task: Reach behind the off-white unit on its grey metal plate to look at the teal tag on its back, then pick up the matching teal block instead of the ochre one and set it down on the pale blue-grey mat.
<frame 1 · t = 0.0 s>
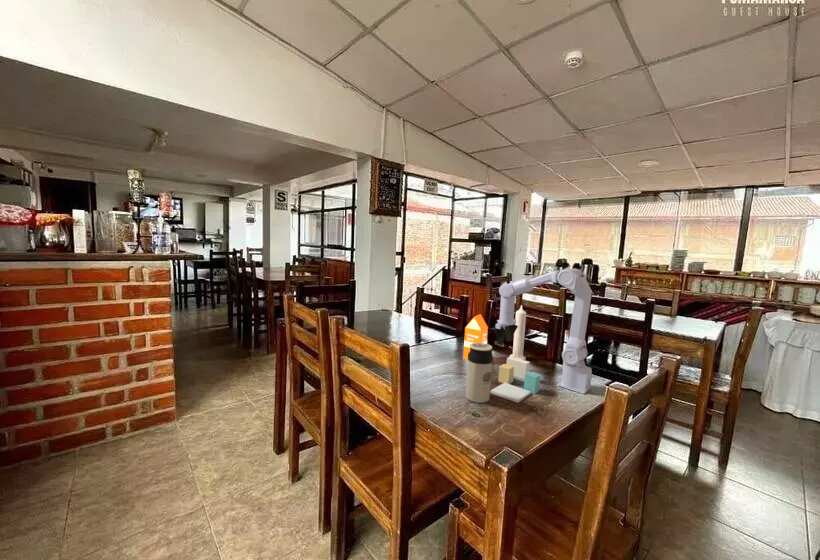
hand: (504, 342, 140), 10 cm above the table, tool pointing down, fingers open, 7 cm apart
ochre block: (505, 381, 124), on the table
unit: (517, 376, 129), on the table
candle: (517, 358, 151), on the table
mat: (510, 393, 114), on the table
teal block: (531, 390, 117), on the table
travel mug: (477, 398, 109), on the table
orange juice: (474, 358, 148), on the table
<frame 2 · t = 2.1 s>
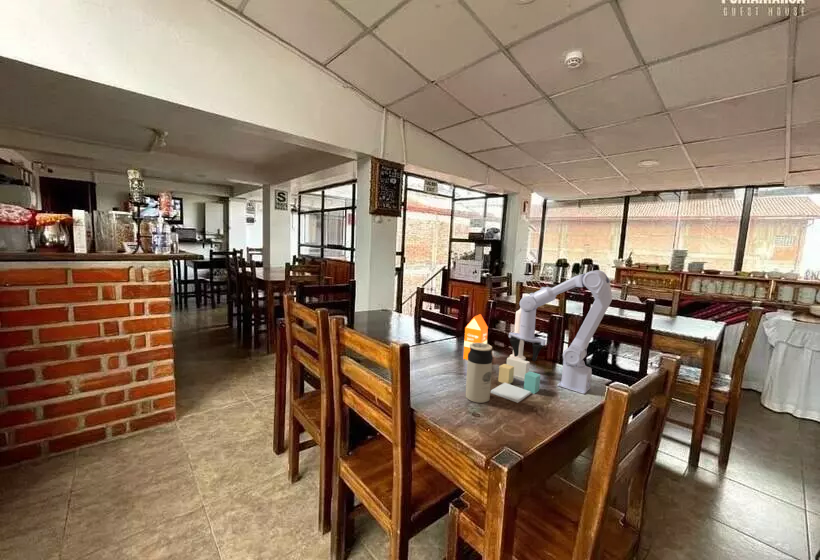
hand: (525, 358, 132), 6 cm above the table, tool pointing down, fingers open, 7 cm apart
nothing on the table moved.
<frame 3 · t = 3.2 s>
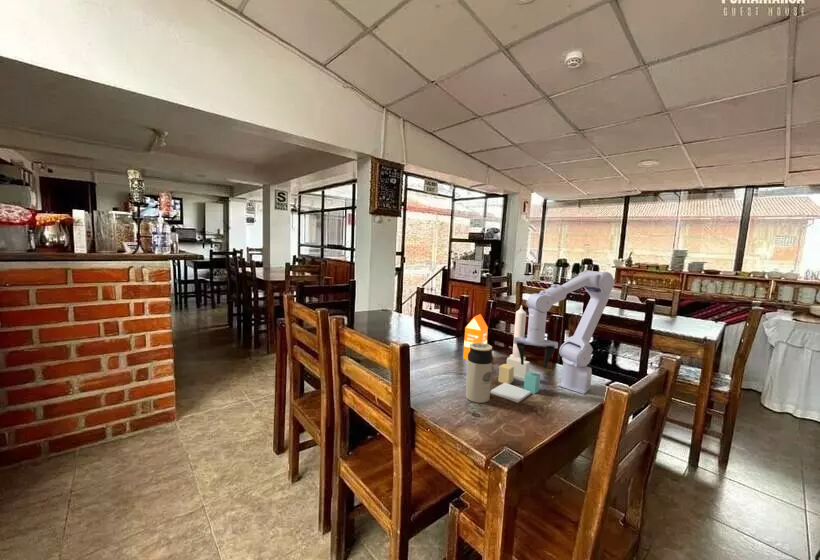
hand: (533, 365, 116), 9 cm above the table, tool pointing down, fingers open, 7 cm apart
nothing on the table moved.
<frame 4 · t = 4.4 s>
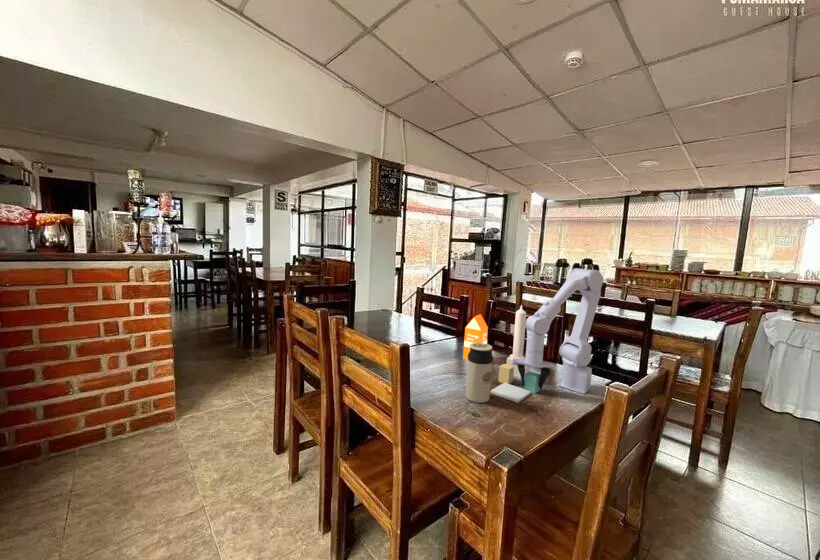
hand: (531, 386, 117), 1 cm above the table, tool pointing down, fingers closed on teal block, 5 cm apart
teal block: (531, 390, 117), on the table, touching gripper
everything else where it was.
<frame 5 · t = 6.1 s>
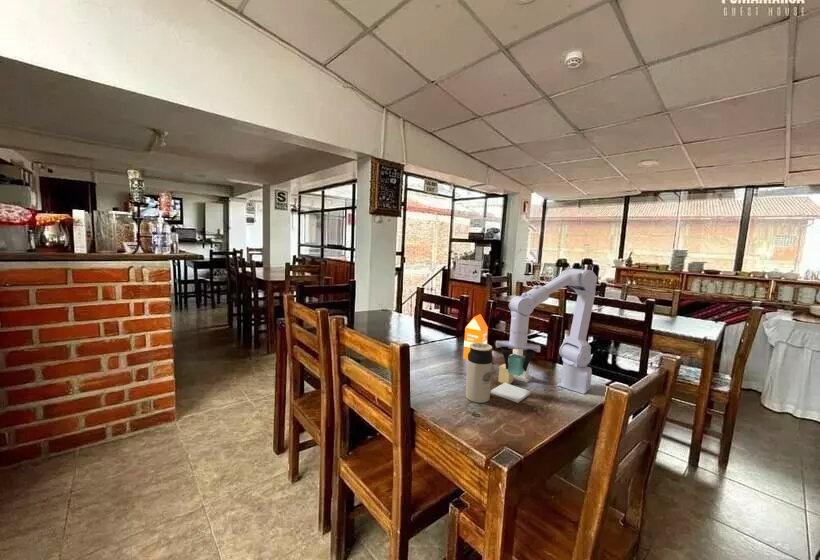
hand: (515, 369, 114), 9 cm above the table, tool pointing down, fingers closed on teal block, 5 cm apart
teal block: (515, 373, 114), point 7 cm above the table, touching gripper
everything else where it was.
when the fingers open (3 cm above the table, at t = 7.8 s): teal block stays where it is, resting on mat.
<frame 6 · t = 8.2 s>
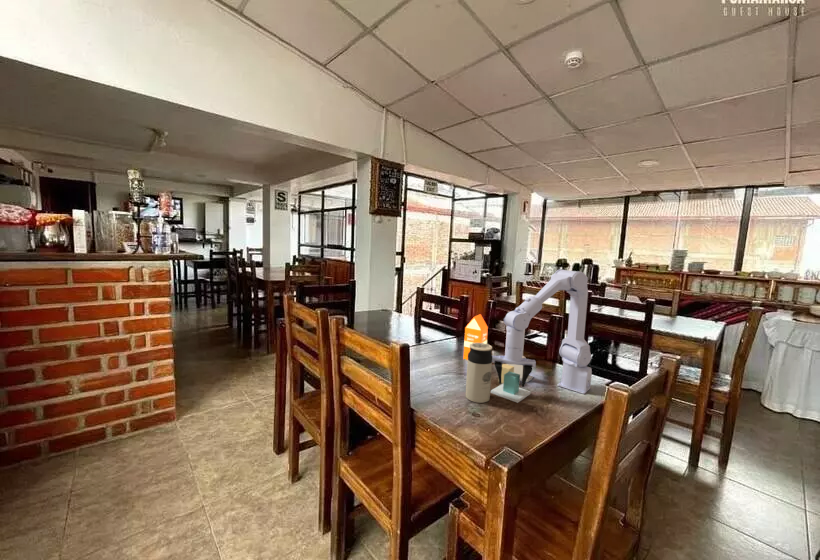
hand: (511, 384, 114), 3 cm above the table, tool pointing down, fingers open, 7 cm apart
teal block: (510, 390, 114), point 1 cm above the table, touching mat
everything else where it was.
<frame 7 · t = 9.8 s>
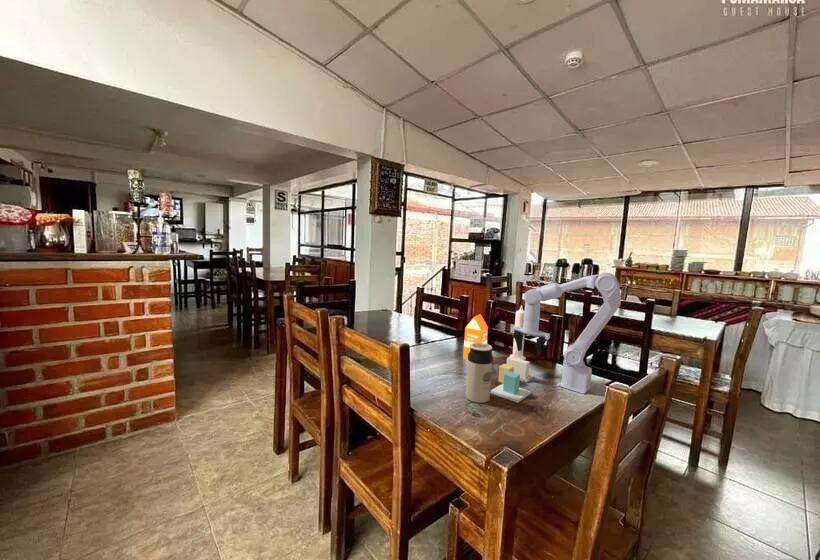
hand: (528, 352, 130), 9 cm above the table, tool pointing down, fingers open, 7 cm apart
nothing on the table moved.
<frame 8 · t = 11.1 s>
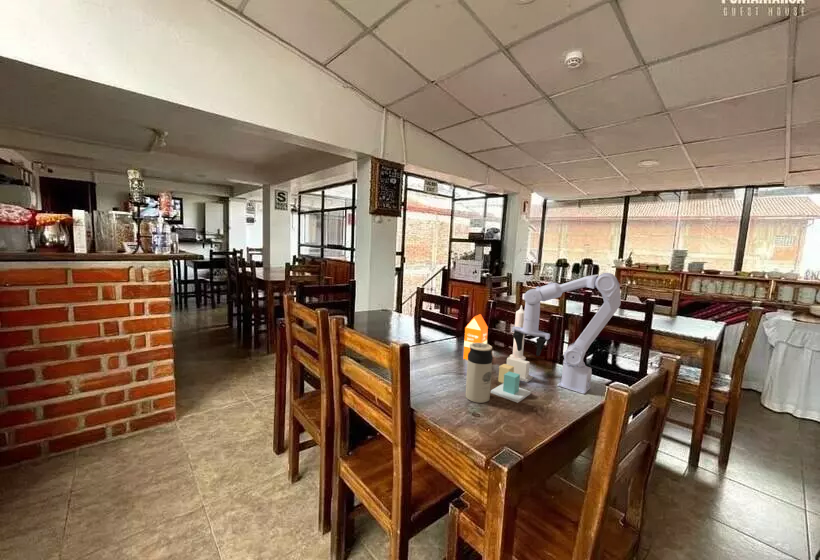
hand: (528, 352, 130), 9 cm above the table, tool pointing down, fingers open, 7 cm apart
nothing on the table moved.
at the end: teal block 0.0 cm off-centre on the mat, point 0.8 cm above the mat's base; teal block tilted 0°; ochre block moved 0.1 cm from its start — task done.
